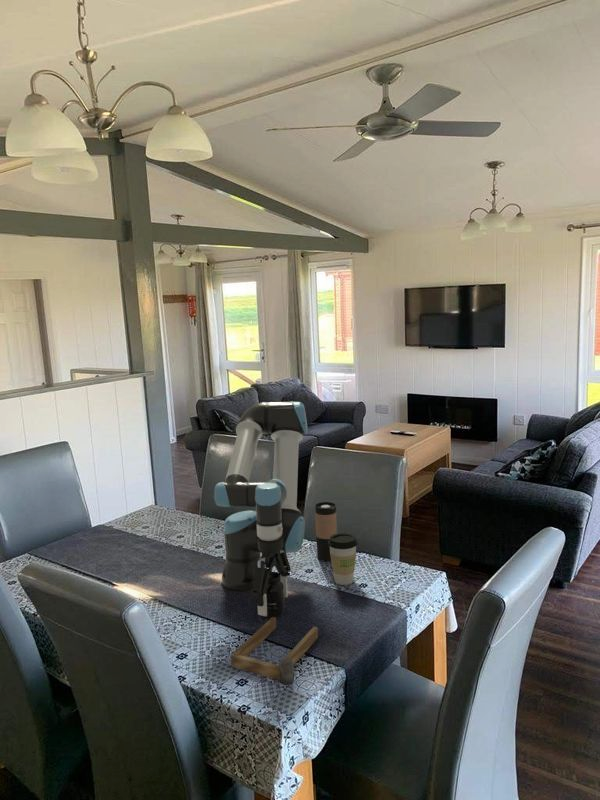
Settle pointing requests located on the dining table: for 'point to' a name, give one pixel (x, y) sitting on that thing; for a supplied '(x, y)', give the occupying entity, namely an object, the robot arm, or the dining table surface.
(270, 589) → the supplement bottle
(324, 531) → the travel mug
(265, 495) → the robot arm
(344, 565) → the coffee cup
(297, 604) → the dining table surface
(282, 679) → the bay
